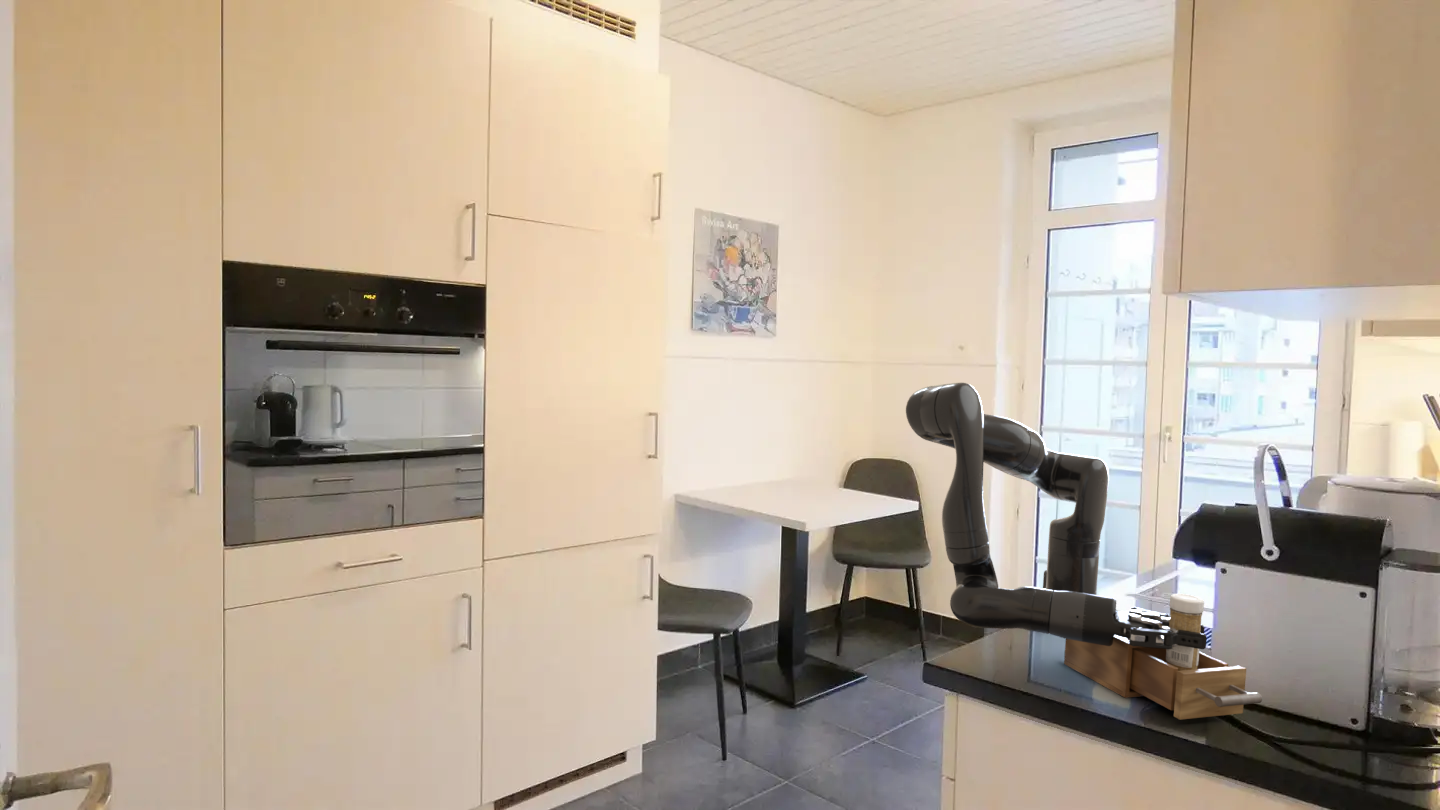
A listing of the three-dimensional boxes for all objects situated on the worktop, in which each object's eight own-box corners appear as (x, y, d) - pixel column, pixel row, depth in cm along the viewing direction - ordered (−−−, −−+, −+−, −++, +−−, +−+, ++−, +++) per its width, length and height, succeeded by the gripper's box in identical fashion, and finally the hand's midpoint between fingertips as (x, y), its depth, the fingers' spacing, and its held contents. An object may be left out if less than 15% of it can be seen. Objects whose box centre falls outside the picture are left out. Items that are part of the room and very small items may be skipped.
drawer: (1272, 727, 125) (1276, 681, 125) (1207, 734, 122) (1210, 687, 122) (1172, 678, 143) (1175, 637, 142) (1113, 684, 140) (1116, 642, 139)
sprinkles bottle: (1202, 686, 133) (1210, 599, 132) (1186, 691, 131) (1194, 602, 130) (1172, 676, 137) (1180, 591, 136) (1156, 681, 135) (1164, 594, 134)
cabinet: (1191, 691, 140) (1195, 638, 139) (1124, 697, 137) (1128, 643, 136) (1125, 659, 154) (1128, 610, 153) (1063, 663, 151) (1067, 614, 150)
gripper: (1081, 605, 133) (1211, 625, 125) (1086, 583, 146) (1203, 600, 138) (1077, 653, 133) (1206, 677, 126) (1082, 627, 146) (1199, 647, 139)
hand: (1204, 637), depth 132 cm, fingers closed on sprinkles bottle, 4 cm apart
